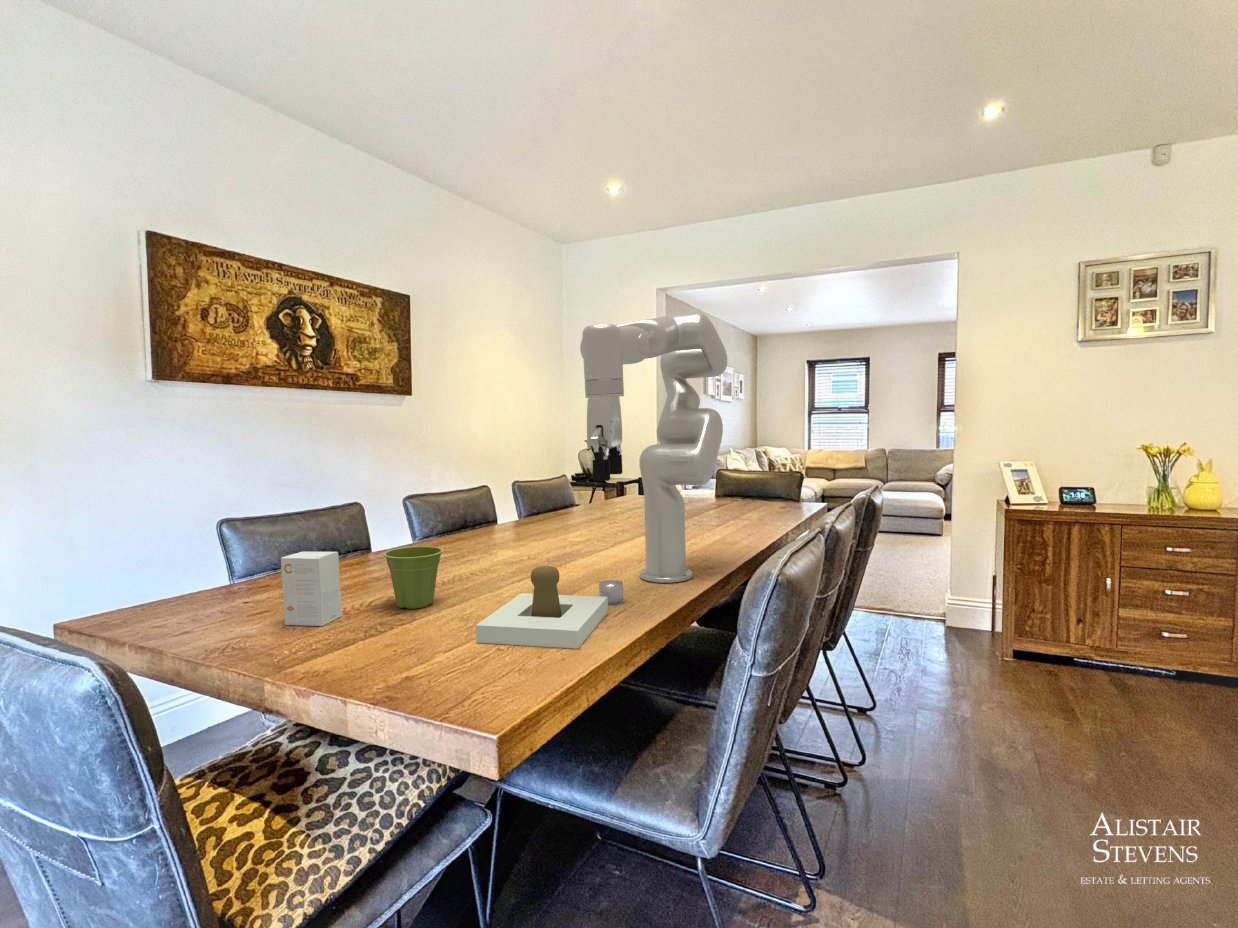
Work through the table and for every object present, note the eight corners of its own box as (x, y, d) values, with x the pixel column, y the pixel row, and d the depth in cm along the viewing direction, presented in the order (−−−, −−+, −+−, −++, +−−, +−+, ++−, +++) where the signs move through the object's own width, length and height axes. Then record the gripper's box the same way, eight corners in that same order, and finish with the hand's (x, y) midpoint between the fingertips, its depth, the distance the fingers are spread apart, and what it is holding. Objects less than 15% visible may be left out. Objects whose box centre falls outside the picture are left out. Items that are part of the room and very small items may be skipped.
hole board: (521, 607, 124) (520, 593, 123) (607, 611, 120) (607, 596, 119) (476, 642, 104) (475, 625, 104) (578, 648, 100) (577, 630, 100)
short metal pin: (602, 598, 130) (602, 579, 129) (625, 599, 128) (625, 580, 128) (596, 605, 125) (596, 585, 125) (620, 606, 124) (620, 586, 123)
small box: (342, 616, 121) (339, 551, 120) (322, 626, 115) (318, 558, 114) (306, 615, 122) (302, 550, 121) (283, 625, 116) (279, 557, 115)
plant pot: (407, 616, 120) (405, 559, 119) (374, 606, 127) (371, 553, 126) (457, 602, 129) (455, 549, 128) (423, 593, 136) (421, 543, 135)
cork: (565, 621, 115) (564, 563, 114) (560, 632, 108) (558, 570, 108) (533, 621, 115) (532, 563, 114) (526, 632, 109) (524, 570, 108)
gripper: (598, 390, 128) (601, 472, 130) (572, 390, 112) (576, 483, 113) (633, 389, 126) (636, 471, 128) (611, 388, 110) (616, 483, 111)
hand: (608, 477), depth 121 cm, fingers open, 9 cm apart
